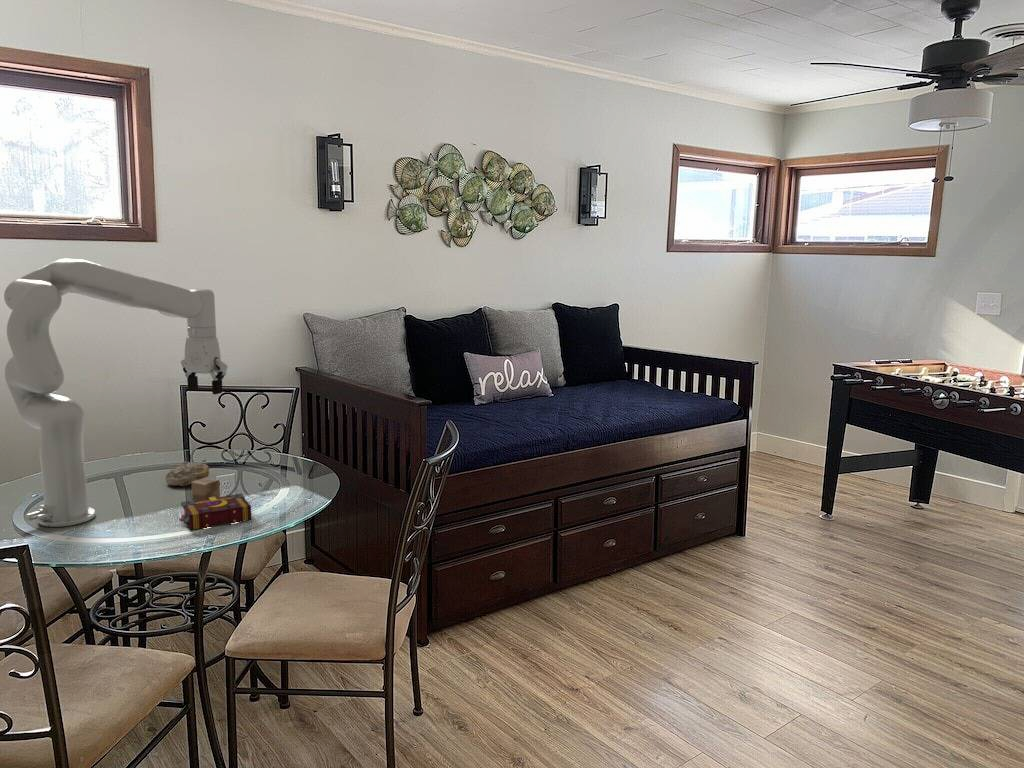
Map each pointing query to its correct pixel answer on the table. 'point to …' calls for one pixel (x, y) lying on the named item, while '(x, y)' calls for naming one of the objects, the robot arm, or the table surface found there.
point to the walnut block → (205, 489)
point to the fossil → (187, 474)
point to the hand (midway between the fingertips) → (205, 391)
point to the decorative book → (215, 511)
